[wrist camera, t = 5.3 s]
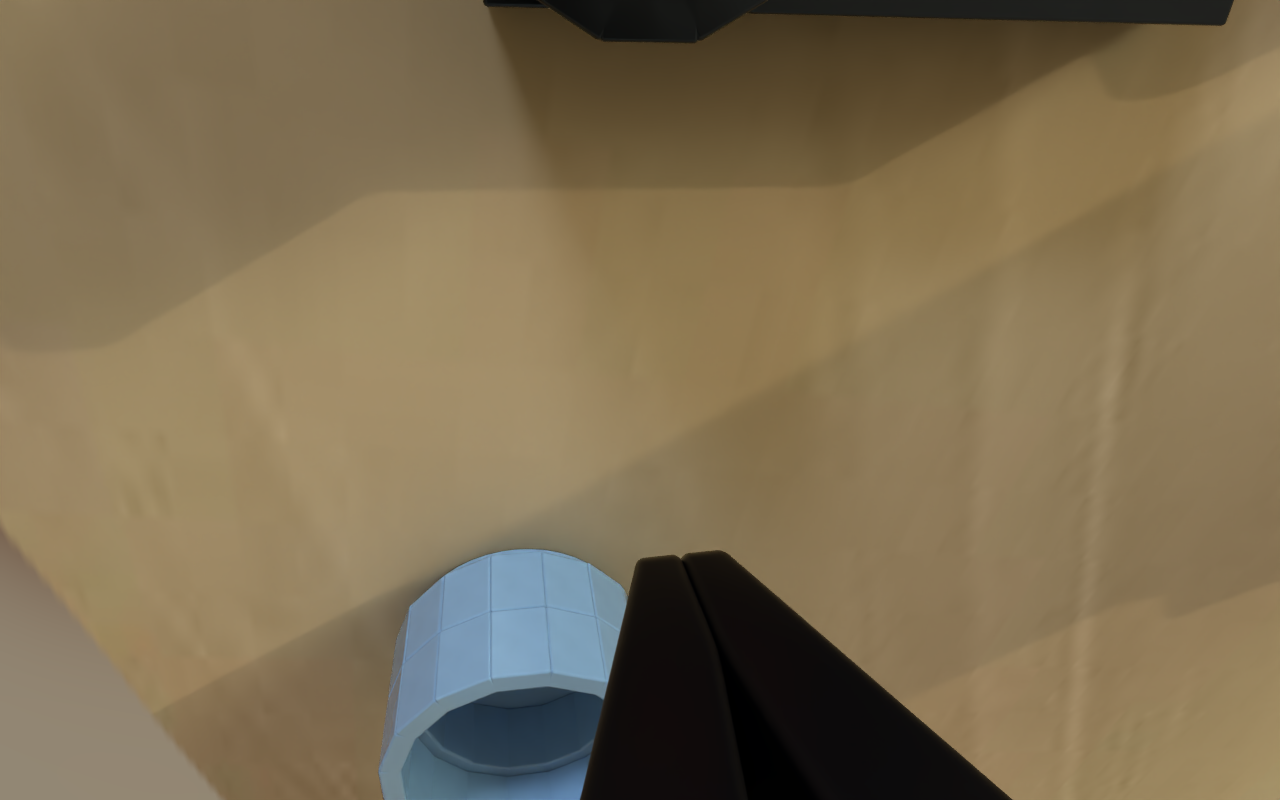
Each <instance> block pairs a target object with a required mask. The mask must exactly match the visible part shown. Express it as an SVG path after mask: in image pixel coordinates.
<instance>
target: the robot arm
mask: <svg viewBox="0 0 1280 800" xmlns="http://www.w3.org/2000/svg"><path fill="white" fill-rule="evenodd" d="M580 800H1012V799H1011V798H1010V797H1009V796H1008V795H1007V794H1005V793H1004V792H1003V791H1002V790H1001V789H1000V788H998V787H997V786H996V785H995V784H994V783H993V782H992V781H990V780H989V779H988V778H987V777H986V776H985V775H983V774H982V773H981V772H980V771H979V770H978V769H976V768H975V767H974V766H973V765H972V764H971V763H970V762H968V761H967V760H966V759H965V758H964V757H963V756H961V755H960V754H959V753H958V752H957V751H956V750H954V749H953V748H952V747H951V746H950V745H949V744H948V743H946V742H945V741H944V740H943V739H942V738H941V737H939V736H938V735H937V734H936V733H935V732H934V731H932V730H931V729H930V728H929V727H928V726H927V725H926V724H924V723H923V722H922V721H921V720H920V719H919V718H917V717H916V716H915V715H914V714H913V713H912V712H910V711H909V710H908V709H907V708H906V707H905V706H904V705H902V704H901V703H900V702H899V701H898V700H897V699H895V698H894V697H893V696H892V695H891V694H890V693H889V692H887V691H886V690H885V689H884V688H883V687H882V686H880V685H879V684H878V683H877V682H876V681H875V680H873V679H872V678H871V677H870V676H869V675H868V674H867V673H865V672H864V671H863V670H862V669H861V668H860V667H858V666H857V665H856V664H855V663H854V662H853V661H851V660H850V659H849V658H848V657H847V656H846V655H845V654H843V653H842V652H841V651H840V650H839V649H838V648H836V647H835V646H834V645H833V644H832V643H831V642H829V641H828V640H827V639H826V638H825V637H824V636H823V635H821V634H820V633H819V632H818V631H817V630H816V629H814V628H813V627H812V626H811V625H810V624H809V623H807V622H806V621H805V620H804V619H803V618H802V617H801V616H799V615H798V614H797V613H796V612H795V611H794V610H792V609H791V608H790V607H789V606H788V605H787V604H786V603H784V602H783V601H782V600H781V599H780V598H779V597H777V596H776V595H775V594H774V593H773V592H772V591H770V590H769V589H768V588H767V587H766V586H765V585H764V584H762V583H761V582H760V581H759V580H758V579H757V578H755V577H754V576H753V575H752V574H751V573H750V572H748V571H747V570H746V569H745V568H744V567H743V566H742V565H740V564H739V563H738V562H737V561H736V560H735V559H733V558H732V557H731V556H730V555H729V554H727V553H726V552H723V551H720V550H715V551H705V552H696V553H688V554H685V555H684V556H683V557H682V558H681V559H680V558H679V557H677V556H676V555H667V556H658V557H648V558H642V559H640V560H638V562H637V563H636V566H635V570H634V575H633V579H632V583H631V587H630V591H629V596H628V600H627V604H626V608H625V612H624V617H623V621H622V625H621V629H620V633H619V638H618V642H617V646H616V650H615V654H614V659H613V663H612V667H611V671H610V675H609V680H608V684H607V688H606V692H605V696H604V701H603V705H602V709H601V713H600V717H599V722H598V726H597V730H596V734H595V738H594V743H593V747H592V751H591V755H590V759H589V764H588V768H587V772H586V776H585V780H584V785H583V789H582V793H581V797H580Z"/></svg>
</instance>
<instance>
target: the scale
mask: <svg viewBox="0 0 1280 800" xmlns="http://www.w3.org/2000/svg"><path fill="white" fill-rule="evenodd" d="M1233 1H1234V0H483V3H484V5H485V6H487V7H521V8H550V9H551V10H553V11H554V12H556V13H557V14H559V15H561V16H562V17H564V18H565V19H567V20H568V21H570V22H571V23H573V24H574V25H576V26H577V27H579V28H580V29H582V30H583V31H585V32H586V33H588V34H589V35H591V36H592V37H594V38H595V39H599V40H602V41H604V42H653V43H696V42H697V41H700V40H703V39H705V38H707V37H708V36H710V35H712V34H713V33H715V32H717V31H718V30H720V29H721V28H723V27H725V26H726V25H728V24H730V23H731V22H733V21H735V20H736V19H738V18H740V17H741V16H743V15H745V14H746V13H751V14H789V15H828V16H866V17H905V18H943V19H981V20H1020V21H1058V22H1096V23H1135V24H1173V25H1211V26H1221V25H1224V24H1225V23H1226V21H1227V18H1228V15H1229V12H1230V9H1231V7H1232V4H1233Z"/></svg>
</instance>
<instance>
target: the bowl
mask: <svg viewBox="0 0 1280 800" xmlns="http://www.w3.org/2000/svg"><path fill="white" fill-rule="evenodd" d="M627 600H628V596H627V594H626V592H625V590H624V589H623V587H622V586H621V585H620V584H619V583H617V582H616V581H614V580H613V579H612V578H610V577H609V576H607V575H606V574H604V573H603V572H601V571H600V570H598V569H597V568H596V567H594V566H593V565H591V564H590V563H586V562H585V561H582V560H580V559H578V558H575V557H573V556H570V555H566V554H563V553H560V552H554V551H549V550H539V549H515V550H507V551H500V552H496V553H492V554H488V555H484V556H481V557H479V558H476V559H473V560H471V561H468V562H466V563H464V564H462V565H460V566H458V567H457V568H455V569H453V570H452V571H450V572H448V573H447V574H446V575H444V576H443V577H441V578H440V579H439V580H438V581H437V582H436V583H435V584H434V585H433V586H431V587H430V588H429V589H428V590H427V591H426V592H425V593H424V594H423V595H422V596H420V597H419V598H418V599H417V600H416V601H415V602H414V603H413V604H412V605H411V606H410V607H409V609H408V612H407V614H406V617H405V619H404V621H403V624H402V626H401V629H400V631H399V634H398V636H397V639H396V645H395V652H394V659H393V667H392V674H391V681H390V689H389V696H388V704H387V711H386V718H385V726H384V733H383V740H382V748H381V755H380V762H379V770H378V774H379V779H380V784H381V788H382V793H383V798H384V800H580V797H581V793H582V789H583V785H584V780H585V776H586V772H587V768H588V764H589V759H590V755H591V751H592V747H593V743H594V738H595V734H596V730H597V726H598V722H599V717H600V713H601V709H602V705H603V701H604V696H605V692H606V688H607V684H608V680H609V675H610V671H611V667H612V663H613V659H614V654H615V650H616V646H617V642H618V638H619V633H620V629H621V625H622V621H623V617H624V612H625V608H626V604H627Z"/></svg>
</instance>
